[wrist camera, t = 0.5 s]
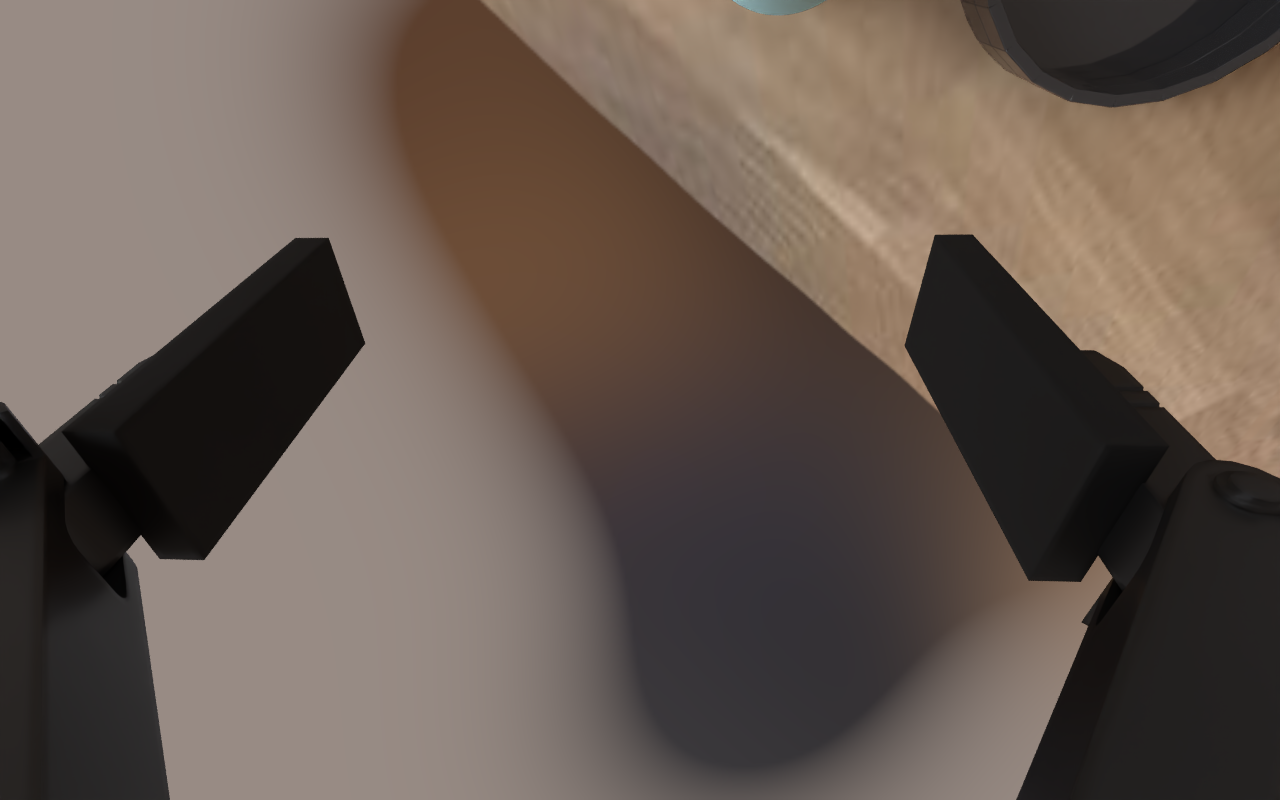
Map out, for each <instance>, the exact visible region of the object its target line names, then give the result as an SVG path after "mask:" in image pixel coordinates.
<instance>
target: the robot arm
mask: <svg viewBox="0 0 1280 800" xmlns="http://www.w3.org/2000/svg"><path fill="white" fill-rule="evenodd" d="M364 344H365V341H364V338H363V336H362V333H361V330H360V327H359V324H358V322H357V318H356V315H355V312H354V310H353V307H352V304H351V301H350V298H349V295H348V292H347V290H346V287H345V284H344V281H343V278H342V275H341V272H340V269H339V266H338V264H337V261H336V258H335V255H334V252H333V249H332V246H331V243H330V241H329V238H295V239H294V240H292V241H291V242H290V243H289V244H288V245H286V246H285V247H284V248H283V249H281V250H280V251H279V252H278V253H277V254H275V255H274V256H273V257H272V258H271V259H269V260H268V261H267V262H266V263H265V264H263V265H262V266H261V267H260V268H259V269H257V270H256V271H255V272H254V273H253V274H251V275H250V276H249V277H248V278H247V279H245V280H244V281H243V282H242V283H240V284H239V285H238V286H237V287H236V288H235V289H233V290H232V291H231V292H229V293H228V294H227V295H226V296H225V297H223V298H222V299H221V300H220V301H219V302H217V303H216V304H215V305H214V306H213V307H211V308H210V309H209V310H208V311H206V312H205V313H204V314H203V315H202V316H200V317H199V318H198V319H197V320H196V321H194V322H193V323H192V324H191V325H190V326H188V327H187V328H186V329H185V330H184V331H182V332H181V333H180V334H179V335H178V336H176V337H175V338H174V339H173V340H171V341H170V342H169V343H168V344H167V345H165V346H164V347H163V348H162V349H161V350H159V351H158V352H157V353H156V354H154V355H153V356H151V357H149V358H148V359H146V360H144V361H142V362H140V363H138V364H137V365H136V366H134V367H133V368H132V369H131V370H129V371H128V372H127V373H126V374H125V375H123V376H122V377H121V378H120V379H118V380H117V384H113V385H111V386H110V387H109V388H108V389H106V390H105V391H104V392H103V393H101V394H100V395H99V396H100V398H99V399H94V400H93V401H92V402H90V403H89V404H88V405H87V406H86V407H84V408H83V409H82V410H81V411H79V412H78V413H77V414H76V415H74V416H73V417H72V418H71V419H70V420H69V421H67V422H66V423H65V424H63V425H62V426H61V427H60V428H59V429H57V430H56V431H55V432H54V433H53V434H51V435H50V436H49V437H48V438H46V439H45V440H44V441H43V442H42V443H40V444H39V445H38V444H37V443H36V442H35V440H34V439H33V438H32V436H31V435H30V434H29V433H28V432H27V430H26V429H25V428H24V427H23V425H22V424H21V423H20V422H19V421H18V419H17V418H16V417H15V416H14V414H13V413H12V412H11V411H10V410H9V408H8V407H7V406H6V405H5V404H4V403H2V402H0V800H170V798H169V790H168V783H167V776H166V769H165V762H164V755H163V748H162V740H161V734H160V726H159V719H158V712H157V706H156V699H155V691H154V684H153V677H152V670H151V663H150V656H149V648H148V641H147V635H146V627H145V620H144V613H143V606H142V599H141V592H140V585H139V578H138V571H137V567H136V565H135V563H134V562H133V560H132V559H131V558H130V556H129V555H128V554H127V553H126V551H127V550H128V549H129V548H130V547H131V546H132V544H133V543H134V542H135V541H136V540H137V538H138V537H139V536H140V535H142V537H143V538H144V539H145V541H146V542H147V543H148V544H149V546H150V547H151V548H152V550H153V551H154V552H155V553H156V555H157V556H158V557H159V558H160V559H183V560H205V558H206V557H207V556H208V554H209V553H210V551H211V550H212V549H213V548H214V546H215V545H216V544H217V542H218V541H219V539H220V538H221V537H222V535H223V534H224V533H225V531H226V530H227V529H228V527H229V526H230V525H231V523H232V522H233V521H234V519H235V518H236V516H237V515H238V514H239V512H240V511H241V510H242V509H243V507H244V506H245V505H246V503H247V502H248V500H249V499H250V498H251V496H252V495H253V494H254V492H255V491H256V490H257V488H258V487H259V485H260V484H261V483H262V481H263V480H264V479H265V478H266V476H267V475H268V474H269V472H270V471H271V470H272V468H273V467H274V465H275V464H276V463H277V461H278V460H279V458H280V457H281V456H282V455H283V453H284V452H285V451H286V449H287V448H288V446H289V445H290V444H291V443H292V441H293V440H294V438H295V437H296V436H297V435H298V433H299V432H300V430H301V429H302V428H303V426H304V425H305V424H306V422H307V421H308V420H309V418H310V417H311V416H312V414H313V413H314V412H315V410H316V409H317V408H318V406H319V405H320V404H321V402H322V401H323V400H324V398H325V397H326V395H327V394H328V393H329V391H330V390H331V389H332V387H333V386H334V385H335V383H336V382H337V381H338V379H339V378H340V377H341V375H342V374H343V373H344V371H345V370H346V368H347V367H348V366H349V364H350V363H351V362H352V361H353V359H354V358H355V356H356V355H357V354H358V352H359V351H360V349H361V348H362V347H363V346H364ZM905 348H906V349H907V351H908V353H909V355H910V357H911V359H912V361H913V363H914V365H915V366H916V368H917V370H918V372H919V374H920V376H921V378H922V380H923V382H924V383H925V385H926V387H927V389H928V391H929V393H930V395H931V397H932V399H933V400H934V402H935V404H936V406H937V408H938V410H939V412H940V414H941V416H942V417H943V419H944V421H945V423H946V425H947V427H948V429H949V431H950V432H951V434H952V436H953V438H954V440H955V442H956V444H957V446H958V448H959V450H960V452H961V453H962V455H963V457H964V459H965V461H966V463H967V465H968V467H969V468H970V470H971V472H972V474H973V476H974V478H975V480H976V482H977V484H978V486H979V487H980V489H981V491H982V493H983V495H984V497H985V499H986V501H987V502H988V504H989V506H990V508H991V510H992V512H993V514H994V516H995V518H996V519H997V521H998V523H999V525H1000V527H1001V529H1002V531H1003V533H1004V534H1005V537H1006V538H1007V540H1008V542H1009V544H1010V546H1011V548H1012V549H1013V552H1014V553H1015V555H1016V557H1017V559H1018V561H1019V563H1020V565H1021V567H1022V569H1023V571H1024V572H1025V574H1026V576H1027V578H1028V580H1029V581H1030V580H1031V581H1070V582H1071V581H1072V582H1081V581H1082V579H1083V578H1084V576H1085V575H1086V573H1087V572H1088V570H1089V569H1090V567H1091V565H1092V564H1093V562H1094V561H1095V559H1096V558H1097V556H1099V557H1100V559H1101V560H1102V562H1103V563H1104V565H1105V566H1106V568H1107V569H1108V571H1109V572H1110V574H1111V575H1112V577H1113V578H1112V579H1111V581H1110V582H1109V584H1108V585H1107V586H1106V588H1105V589H1104V591H1103V592H1102V594H1101V595H1100V596H1099V598H1098V599H1097V601H1096V602H1095V604H1094V605H1093V606H1092V608H1091V609H1090V611H1089V612H1088V614H1087V615H1086V616H1085V618H1084V619H1083V621H1082V623H1084V624H1086V625H1088V628H1087V631H1086V633H1085V635H1084V638H1083V640H1082V643H1081V645H1080V648H1079V650H1078V652H1077V655H1076V657H1075V660H1074V662H1073V664H1072V667H1071V669H1070V672H1069V674H1068V677H1067V679H1066V681H1065V684H1064V686H1063V689H1062V691H1061V693H1060V696H1059V698H1058V701H1057V703H1056V705H1055V708H1054V710H1053V713H1052V715H1051V717H1050V720H1049V722H1048V725H1047V727H1046V729H1045V732H1044V734H1043V737H1042V739H1041V742H1040V744H1039V746H1038V749H1037V751H1036V754H1035V756H1034V758H1033V761H1032V763H1031V766H1030V768H1029V770H1028V773H1027V775H1026V778H1025V780H1024V783H1023V785H1022V787H1021V790H1020V792H1019V795H1018V797H1017V799H1016V800H1280V478H1278V477H1276V476H1273V475H1271V474H1269V473H1267V472H1264V471H1262V470H1260V469H1258V468H1255V467H1251V466H1247V465H1244V464H1240V463H1236V462H1233V461H1221V460H1216V459H1215V458H1214V457H1213V456H1212V455H1211V454H1210V453H1209V452H1208V451H1207V450H1206V449H1205V448H1204V447H1203V446H1202V445H1201V444H1200V443H1199V442H1198V441H1197V440H1196V439H1195V438H1194V437H1193V436H1192V435H1191V434H1190V433H1189V432H1188V431H1187V430H1186V429H1185V428H1184V427H1183V426H1182V425H1181V424H1180V423H1179V422H1178V421H1177V420H1176V419H1175V418H1174V417H1173V416H1172V415H1171V414H1170V413H1169V412H1168V411H1167V410H1166V409H1165V408H1164V407H1159V404H1160V403H1159V402H1158V401H1157V400H1156V399H1155V398H1154V397H1153V396H1152V395H1151V394H1150V393H1149V392H1148V391H1143V388H1144V387H1143V386H1142V385H1141V384H1140V383H1139V382H1138V381H1137V380H1136V379H1135V378H1134V377H1133V376H1132V375H1131V374H1130V373H1129V372H1128V371H1127V370H1126V369H1125V368H1124V367H1122V366H1121V365H1119V364H1117V363H1116V362H1114V361H1112V360H1110V359H1109V358H1107V357H1105V356H1103V355H1102V354H1100V353H1098V352H1097V351H1094V350H1080V349H1079V348H1078V347H1077V346H1076V345H1075V344H1074V343H1073V342H1072V341H1071V340H1070V339H1069V338H1068V337H1067V335H1066V334H1065V333H1064V332H1063V331H1062V330H1061V329H1060V328H1059V327H1058V326H1057V325H1056V324H1055V323H1054V322H1053V320H1052V319H1051V318H1050V317H1049V316H1048V315H1047V314H1046V313H1045V312H1044V311H1043V310H1042V309H1041V308H1040V307H1039V305H1038V304H1037V303H1036V302H1035V301H1034V300H1033V299H1032V298H1031V297H1030V296H1029V295H1028V294H1027V293H1026V291H1025V290H1024V289H1023V288H1022V287H1021V286H1020V285H1019V284H1018V283H1017V282H1016V281H1015V280H1014V279H1013V278H1012V276H1011V275H1010V274H1009V273H1008V272H1007V271H1006V270H1005V269H1004V268H1003V267H1002V266H1001V265H1000V264H999V263H998V261H997V260H996V259H995V258H994V257H993V256H992V255H991V254H990V253H989V252H988V251H987V250H986V249H985V248H984V246H983V245H982V244H981V243H980V242H979V241H978V240H977V239H976V238H975V237H974V236H973V235H935V236H934V240H933V244H932V247H931V251H930V255H929V258H928V262H927V266H926V269H925V273H924V277H923V280H922V284H921V288H920V291H919V295H918V299H917V302H916V306H915V310H914V313H913V317H912V321H911V324H910V328H909V332H908V335H907V339H906V343H905Z"/></svg>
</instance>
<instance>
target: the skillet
mask: <svg viewBox="0 0 1280 800" xmlns="http://www.w3.org/2000/svg"><path fill="white" fill-rule="evenodd" d="M961 3H962V6H963V9H964V12H965V15H966V18H967V21H968V23H969V25H970V27H971V29H972V31H973V33H974V35H975V37H976V39H977V40H978V41H979V43H980V44H981V45H982V47H983V48H984V49H985V51H986V52H987V53H988V54H989V55H990V56H991V57H992V58H993V59H994V60H995V61H996V62H997V63H998V64H999V65H1000V66H1002V68H1003V69H1005V70H1006V71H1008V72H1010V73H1012V74H1013V75H1015V76H1017V77H1019V78H1021V79H1023V80H1025V81H1027V82H1029V83H1031V84H1033V85H1035V86H1037V87H1039V88H1041V89H1043V90H1045V91H1047V92H1050V93H1052V94H1054V95H1056V96H1058V97H1060V98H1063V99H1065V100H1067V101H1070V102H1076V103H1083V104H1090V105H1097V106H1104V107H1121V106H1128V105H1136V104H1144V103H1151V102H1159V101H1164V100H1166V99H1169V98H1172V97H1175V96H1177V95H1180V94H1183V93H1186V92H1188V91H1191V90H1194V89H1197V88H1199V87H1202V86H1205V85H1208V84H1210V83H1213V82H1215V81H1217V80H1219V79H1221V78H1222V77H1224V76H1226V75H1227V74H1229V73H1231V72H1233V71H1234V70H1236V69H1238V68H1239V67H1241V66H1243V65H1245V64H1246V63H1248V62H1250V61H1252V60H1253V59H1255V58H1257V57H1258V56H1260V55H1262V54H1264V53H1265V52H1267V51H1269V49H1271V48H1272V47H1274V46H1275V45H1276V44H1277V43H1279V42H1280V0H961Z"/></svg>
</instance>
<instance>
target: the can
mask: <svg viewBox="0 0 1280 800" xmlns="http://www.w3.org/2000/svg"><path fill="white" fill-rule="evenodd" d="M733 1H734V2H736V3H737V4H739V5H740V6H742V7H744V8H746V9H748V10H751V11H754V12H757V13H761V14H766V15H789V14H795V13H799V12H802V11H805V10H808V9H811V8H813V7H815V6H817V5H819V4H821V3H823V2H824V1H826V0H733Z"/></svg>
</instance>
